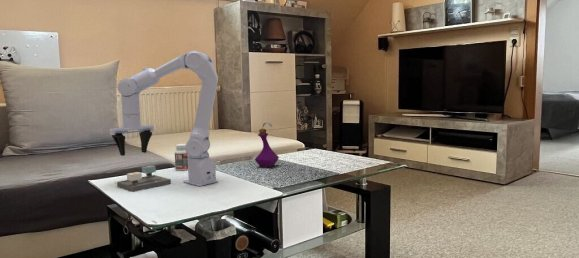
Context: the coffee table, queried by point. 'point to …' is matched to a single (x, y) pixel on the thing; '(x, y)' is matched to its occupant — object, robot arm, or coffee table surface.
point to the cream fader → (134, 177)
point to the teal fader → (148, 170)
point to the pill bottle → (181, 158)
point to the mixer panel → (144, 183)
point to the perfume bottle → (266, 151)
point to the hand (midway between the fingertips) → (133, 153)
